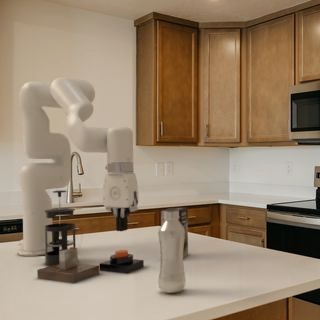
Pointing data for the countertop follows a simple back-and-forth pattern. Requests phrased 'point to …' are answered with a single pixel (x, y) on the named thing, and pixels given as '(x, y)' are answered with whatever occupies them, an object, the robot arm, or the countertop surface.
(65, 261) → the bar knob
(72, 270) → the dial panel
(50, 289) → the countertop surface
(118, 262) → the button box
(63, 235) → the french press
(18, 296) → the countertop surface
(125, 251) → the button
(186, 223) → the coffee box
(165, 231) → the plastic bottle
